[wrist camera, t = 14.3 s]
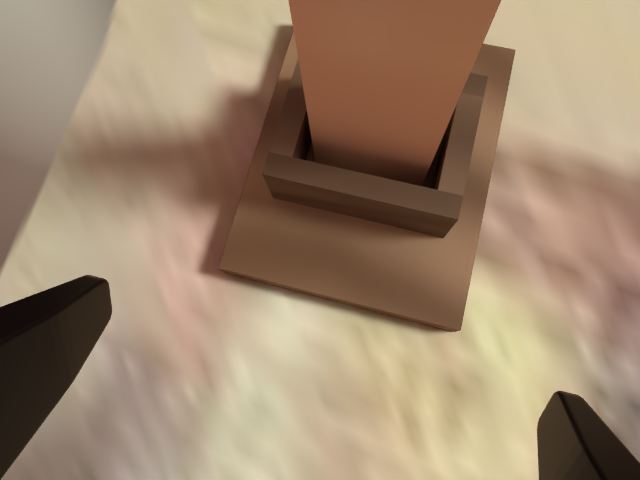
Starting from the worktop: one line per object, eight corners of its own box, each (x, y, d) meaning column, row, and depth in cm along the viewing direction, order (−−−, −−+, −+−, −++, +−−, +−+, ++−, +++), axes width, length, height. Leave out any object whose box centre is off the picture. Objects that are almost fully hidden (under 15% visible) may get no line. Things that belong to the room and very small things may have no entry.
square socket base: (454, 331, 22) (479, 325, 18) (224, 272, 23) (198, 253, 19) (507, 64, 25) (538, 6, 21) (302, 24, 26) (293, -37, 22)
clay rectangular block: (420, 189, 22) (507, -15, 10) (315, 164, 23) (279, -57, 11) (431, 142, 23) (526, -105, 11) (329, 120, 23) (308, -140, 11)
